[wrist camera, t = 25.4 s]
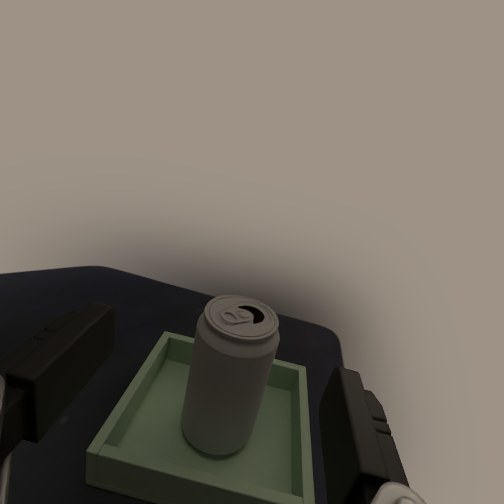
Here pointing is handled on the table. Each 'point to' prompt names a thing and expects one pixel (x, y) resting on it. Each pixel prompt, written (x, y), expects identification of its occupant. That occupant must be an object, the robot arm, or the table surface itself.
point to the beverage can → (228, 372)
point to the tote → (192, 459)
